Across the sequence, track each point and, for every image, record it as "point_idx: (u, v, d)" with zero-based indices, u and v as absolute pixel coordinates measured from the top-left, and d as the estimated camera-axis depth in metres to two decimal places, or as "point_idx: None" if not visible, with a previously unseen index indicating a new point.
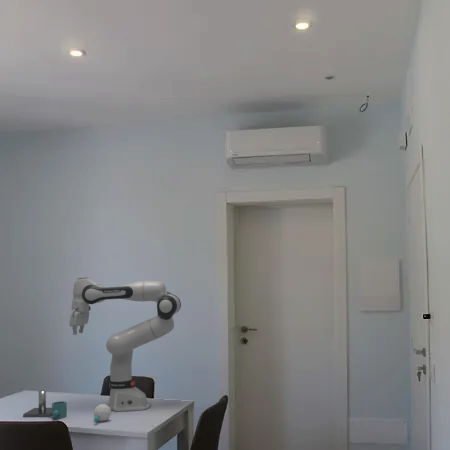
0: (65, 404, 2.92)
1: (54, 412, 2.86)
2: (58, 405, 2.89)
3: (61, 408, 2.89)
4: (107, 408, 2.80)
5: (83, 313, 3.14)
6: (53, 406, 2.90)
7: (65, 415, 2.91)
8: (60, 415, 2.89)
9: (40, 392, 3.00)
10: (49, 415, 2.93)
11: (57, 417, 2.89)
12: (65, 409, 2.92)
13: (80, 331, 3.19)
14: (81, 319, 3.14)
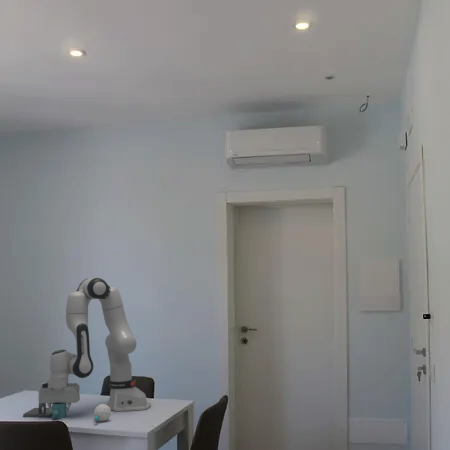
0: (65, 404, 2.92)
1: (54, 412, 2.86)
2: (58, 405, 2.89)
3: (61, 408, 2.89)
4: (107, 408, 2.80)
5: None
6: (53, 406, 2.90)
7: (65, 415, 2.91)
8: (60, 415, 2.89)
9: None
10: (49, 415, 2.93)
11: (57, 417, 2.89)
12: None
13: None
14: None
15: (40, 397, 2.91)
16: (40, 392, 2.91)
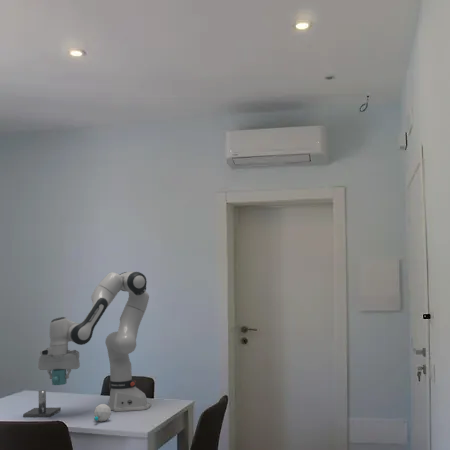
0: (65, 371, 2.93)
1: (54, 378, 2.87)
2: (58, 371, 2.90)
3: (61, 374, 2.91)
4: (107, 408, 2.80)
5: None
6: (53, 373, 2.91)
7: (65, 382, 2.93)
8: (60, 381, 2.90)
9: (40, 392, 3.00)
10: (49, 415, 2.93)
11: (57, 383, 2.90)
12: None
13: None
14: None
15: (40, 364, 2.93)
16: (40, 359, 2.93)
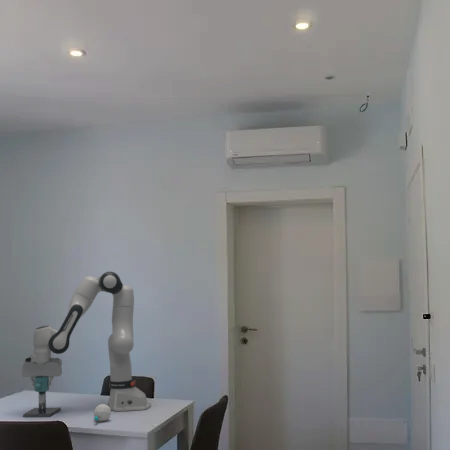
0: (47, 378, 3.02)
1: (36, 385, 2.96)
2: (40, 378, 2.99)
3: (43, 381, 2.99)
4: (107, 408, 2.80)
5: None
6: (36, 379, 3.00)
7: (47, 388, 3.01)
8: (42, 388, 2.99)
9: (40, 392, 3.00)
10: (49, 415, 2.93)
11: (39, 390, 2.98)
12: None
13: None
14: None
15: (23, 371, 3.01)
16: (23, 366, 3.01)
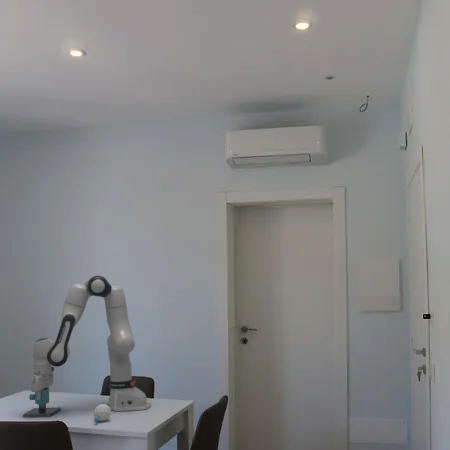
0: None
1: None
2: None
3: (35, 394, 3.00)
4: (107, 408, 2.80)
5: (45, 376, 3.00)
6: None
7: (39, 402, 2.98)
8: (35, 400, 3.00)
9: None
10: (49, 415, 2.93)
11: None
12: None
13: None
14: (44, 382, 3.00)
15: None
16: None
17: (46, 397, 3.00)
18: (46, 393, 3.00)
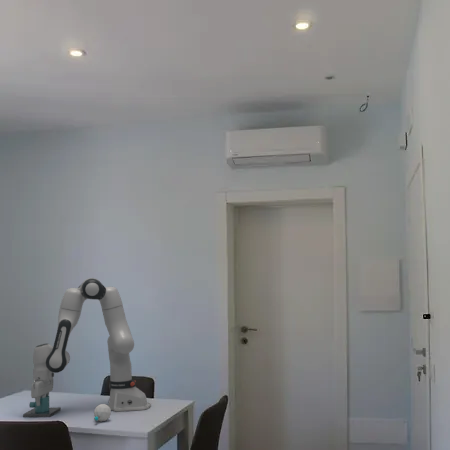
0: None
1: None
2: None
3: (35, 402, 2.99)
4: (107, 408, 2.80)
5: (45, 381, 3.00)
6: None
7: (39, 410, 2.98)
8: (35, 408, 3.00)
9: None
10: (49, 415, 2.93)
11: None
12: None
13: None
14: (44, 388, 3.00)
15: None
16: None
17: (46, 405, 2.99)
18: (46, 401, 3.00)
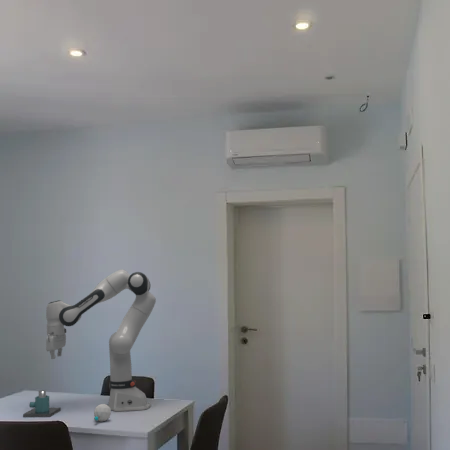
0: (39, 399, 2.98)
1: None
2: None
3: (35, 402, 2.99)
4: (107, 408, 2.80)
5: (59, 336, 3.12)
6: None
7: (39, 410, 2.98)
8: (35, 408, 3.00)
9: (40, 392, 3.00)
10: (49, 415, 2.93)
11: None
12: (39, 404, 2.98)
13: (58, 354, 3.17)
14: (58, 342, 3.12)
15: None
16: None
17: (46, 405, 2.99)
18: (46, 401, 3.00)
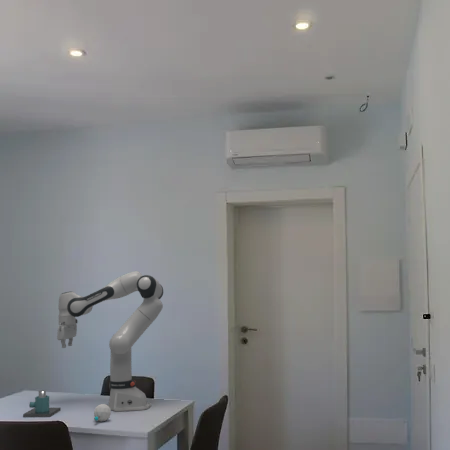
0: (39, 399, 2.98)
1: None
2: None
3: (35, 402, 2.99)
4: (107, 408, 2.80)
5: (70, 326, 3.22)
6: None
7: (39, 410, 2.98)
8: (35, 408, 3.00)
9: (40, 392, 3.00)
10: (49, 415, 2.93)
11: None
12: (39, 404, 2.98)
13: (69, 344, 3.27)
14: (69, 332, 3.22)
15: None
16: None
17: (46, 405, 2.99)
18: (46, 401, 3.00)
